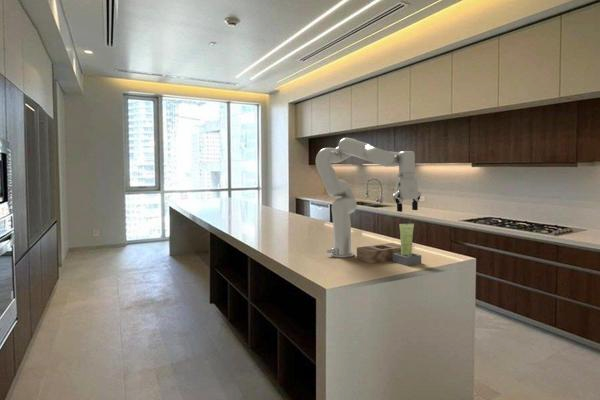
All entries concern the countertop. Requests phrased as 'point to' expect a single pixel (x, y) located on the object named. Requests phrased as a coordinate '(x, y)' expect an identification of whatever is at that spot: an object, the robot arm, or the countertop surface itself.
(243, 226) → the countertop surface
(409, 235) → the tube
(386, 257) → the port block
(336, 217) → the robot arm
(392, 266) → the countertop surface
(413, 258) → the frame
